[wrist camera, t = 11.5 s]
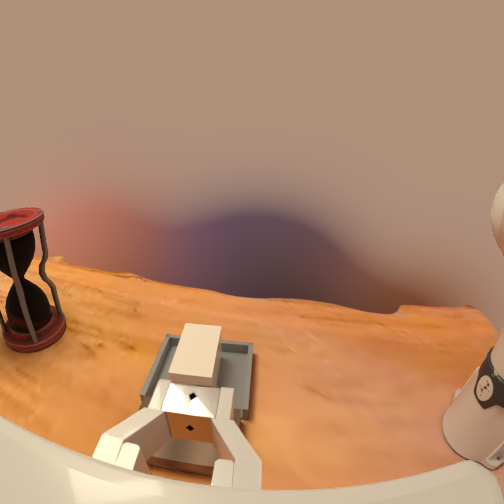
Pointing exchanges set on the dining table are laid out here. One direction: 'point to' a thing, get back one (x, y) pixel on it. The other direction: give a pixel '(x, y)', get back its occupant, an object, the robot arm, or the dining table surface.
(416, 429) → the dining table surface
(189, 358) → the cream block
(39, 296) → the hourglass
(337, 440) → the dining table surface
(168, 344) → the gray tray
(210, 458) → the brown flat block
